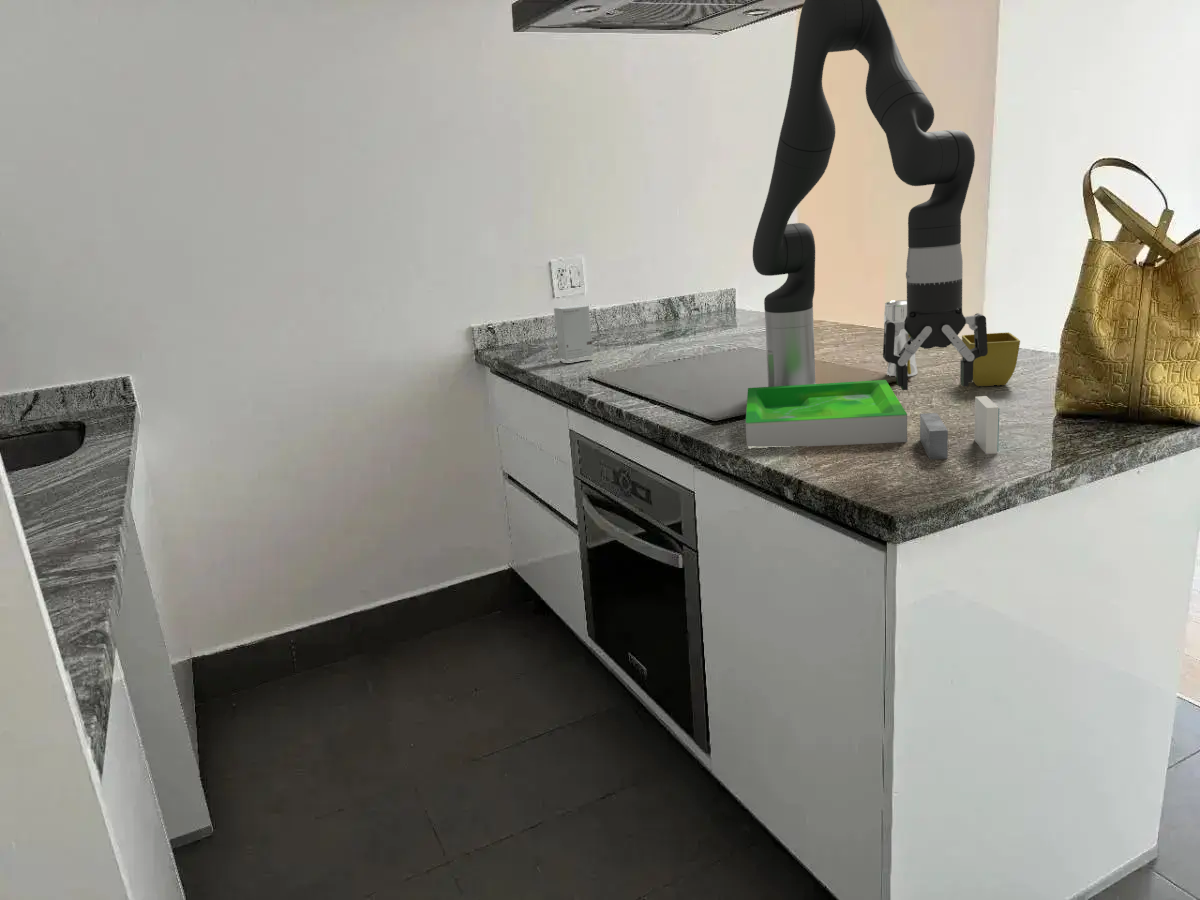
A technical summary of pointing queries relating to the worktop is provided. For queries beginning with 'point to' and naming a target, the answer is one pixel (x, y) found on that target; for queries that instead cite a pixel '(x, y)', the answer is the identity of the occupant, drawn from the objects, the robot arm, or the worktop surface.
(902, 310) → the beer glass
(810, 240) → the robot arm
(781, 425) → the tray
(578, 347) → the skincare box
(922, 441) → the gray rectangular block
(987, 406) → the tile
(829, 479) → the worktop surface
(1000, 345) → the flower pot
